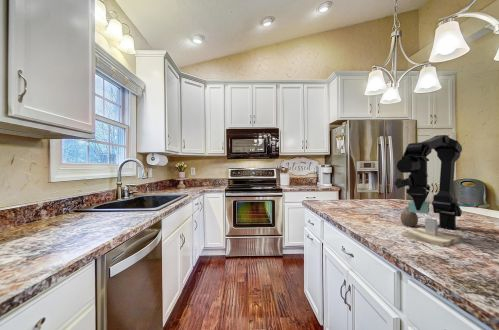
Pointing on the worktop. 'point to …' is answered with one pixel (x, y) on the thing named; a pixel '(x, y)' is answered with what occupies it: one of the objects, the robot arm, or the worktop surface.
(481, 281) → the worktop surface
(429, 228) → the grey rectangular peg
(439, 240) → the board
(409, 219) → the vase
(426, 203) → the teal open cube
